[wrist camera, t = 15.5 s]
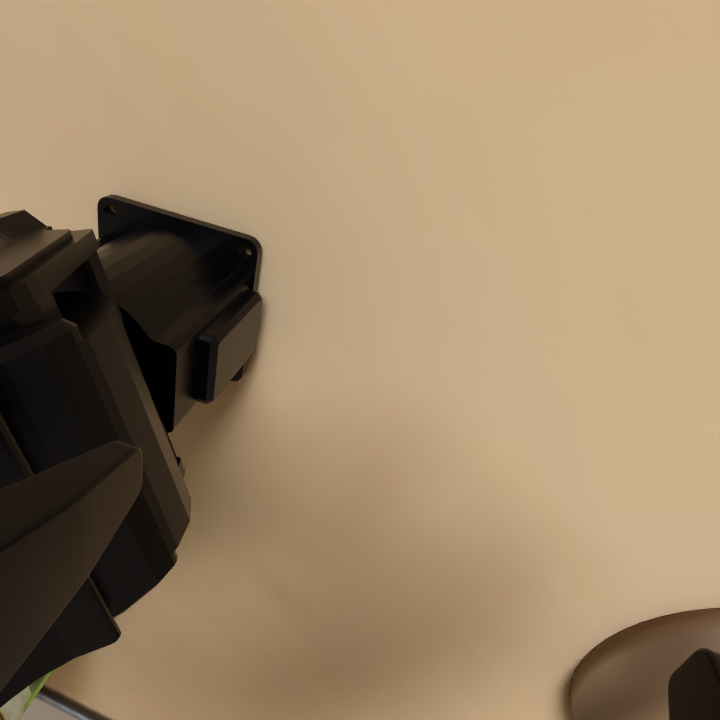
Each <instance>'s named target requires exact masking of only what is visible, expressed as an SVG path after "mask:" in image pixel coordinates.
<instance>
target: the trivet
mask: <svg viewBox="0 0 720 720" xmlns="http://www.w3.org/2000/svg"><path fill="white" fill-rule="evenodd" d="M702 647H705V648H709V649H712V650H715V651H718V652H720V608H716V609H705V610H696V611H688V612H682V613H677V614H672V615H668V616H663V617H659V618H656V619H653V620H649V621H646V622H642V623H640V624H637V625H635V626H632V627H630V628H628V629H625V630H623V631H621V632H619V633H617V634H615V635H614V636H612V637H610V638H608V639H606V640H605V641H604V642H602V643H601V644H600V645H598V646H597V647H595V648H594V649H593V650H592V651H591V652H590V653H589V654H588V655H587V656H586V657H585V658H584V659H583V660H582V662H581V663H580V665H579V666H578V668H577V669H576V671H575V673H574V676H573V678H572V681H571V685H570V693H569V695H570V706H571V715H572V720H669V709H668V683H669V679H670V677H671V675H672V673H673V672H674V671H675V670H676V669H677V668H678V667H679V666H680V665H681V664H682V663H683V662H684V661H685V660H686V659H687V658H688V657H689V656H690V655H691V654H692V653H693V652H694V651H695V650H697V649H698V648H702Z"/></svg>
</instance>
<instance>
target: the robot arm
mask: <svg viewBox="0 0 720 720" xmlns="http://www.w3.org/2000/svg"><path fill="white" fill-rule="evenodd" d="M110 204H111V205H112V206H113V207H114V208H115V211H116V214H115V213H113V212H112V211H111V209H110ZM98 233H99V239H97V240H96V238H95V235H94V232H93V230H92V229H86V230H77V231H70V230H68V229H66V230H53V229H52V227H51V226H46V225H44V224H43V223H42V222H40V221H39V220H37V219H36V218H35V217H33V216H32V215H31V214H29V213H28V212H27V211H25V210H20V211H12V212H6V213H3V214H0V708H1V707H2V706H3V705H5V704H6V703H7V702H8V701H9V700H11V699H12V698H13V697H15V696H16V695H17V694H19V693H20V692H21V691H23V690H24V689H25V688H27V687H28V686H29V685H31V684H32V683H33V682H35V681H36V680H37V679H39V678H41V677H43V676H44V675H46V674H48V673H49V672H51V671H53V670H55V669H56V668H58V667H60V666H62V665H63V664H65V663H67V662H68V661H70V660H72V659H74V658H76V657H79V656H81V655H84V654H87V653H89V652H92V651H94V650H97V649H100V648H102V647H105V646H108V645H110V644H112V643H114V642H116V641H117V640H118V639H119V637H120V635H121V631H120V628H119V627H118V625H117V623H116V621H115V619H114V618H115V617H116V616H118V615H120V614H122V613H123V612H125V611H126V610H127V609H128V608H130V607H131V606H132V605H133V604H135V603H136V602H137V601H138V600H139V599H141V598H142V597H143V596H144V595H146V594H147V593H148V592H149V591H151V590H152V589H153V588H154V587H155V586H156V585H157V584H158V583H159V582H160V581H161V580H162V579H163V578H164V576H165V575H166V574H167V573H168V572H169V571H170V570H171V569H172V567H173V566H174V565H175V563H176V561H177V555H176V552H175V550H176V549H177V547H178V545H179V543H180V541H181V539H182V536H183V534H184V532H185V530H186V528H187V526H188V524H189V522H190V508H191V498H190V495H189V493H188V490H187V488H186V485H185V482H184V480H183V478H184V474H185V469H184V466H183V464H182V461H181V459H180V458H179V457H176V454H175V451H174V449H173V446H172V444H171V441H170V439H169V436H168V433H169V432H172V431H173V430H174V429H175V427H176V426H177V425H178V424H179V423H180V422H181V420H182V419H183V418H184V417H185V416H186V414H187V413H188V412H189V411H190V410H191V409H192V407H193V406H194V405H195V404H196V403H197V402H198V401H199V402H202V403H205V404H208V403H210V402H212V401H214V400H215V399H216V398H217V396H218V395H219V394H220V393H221V392H222V390H223V389H224V388H225V387H226V385H227V384H228V383H229V382H230V381H238V380H239V379H241V378H242V376H243V375H244V374H245V372H246V367H247V359H248V358H249V357H250V356H251V354H252V353H253V352H254V351H255V348H256V341H257V333H258V326H259V319H260V312H261V305H262V298H261V296H260V294H259V292H257V283H258V276H259V268H260V260H261V253H262V250H261V245H260V243H259V241H258V240H257V239H256V238H254V237H252V236H250V235H247V234H243V233H240V232H237V231H233V230H230V229H227V228H224V227H220V226H217V225H214V224H210V223H207V222H204V221H200V220H197V219H194V218H190V217H187V216H184V215H180V214H177V213H174V212H170V211H167V210H164V209H160V208H157V207H154V206H150V205H147V204H144V203H140V202H137V201H134V200H131V199H127V198H124V197H121V196H117V195H109V196H106V197H103V198H101V199H100V200H99V202H98ZM243 245H247V246H248V247H249V248H250V249H251V253H252V254H251V255H250V254H247V253H245V251H244V250H243ZM668 709H669V720H720V652H718V651H715V650H712V649H709V648H705V647H702V648H698V649H697V650H695V651H694V652H693V653H692V654H691V655H690V656H689V657H688V658H687V659H686V660H685V661H684V662H683V663H682V664H681V665H680V666H679V667H678V668H677V669H676V670H675V671H674V672H673V673H672V675H671V677H670V679H669V683H668Z"/></svg>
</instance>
